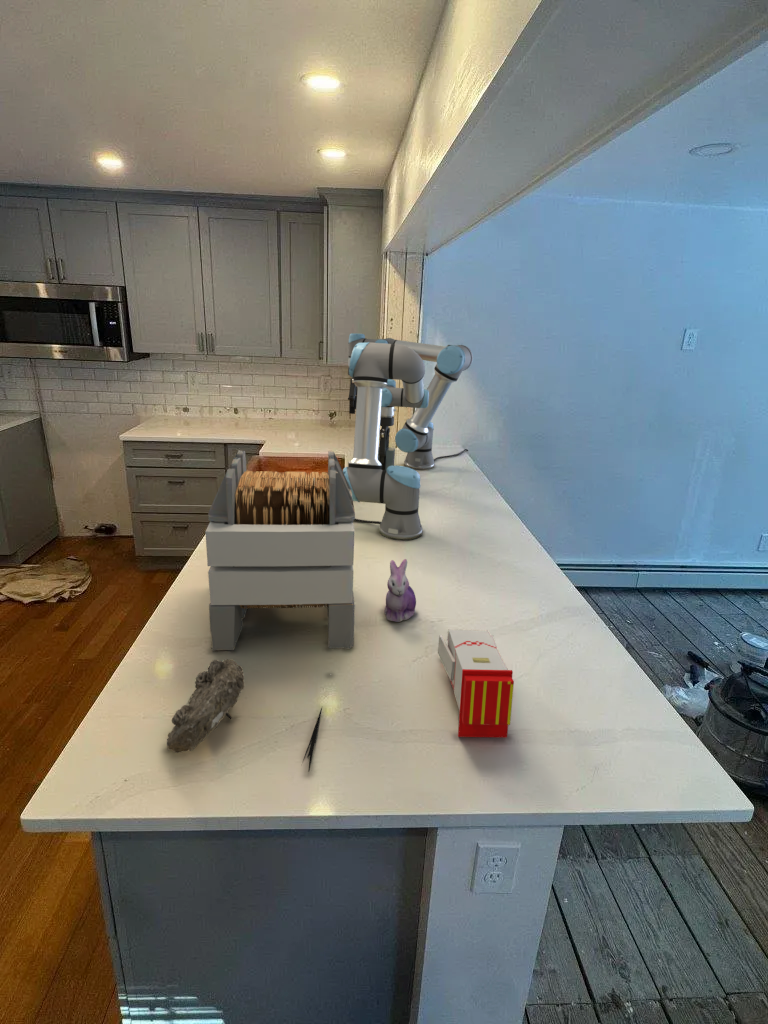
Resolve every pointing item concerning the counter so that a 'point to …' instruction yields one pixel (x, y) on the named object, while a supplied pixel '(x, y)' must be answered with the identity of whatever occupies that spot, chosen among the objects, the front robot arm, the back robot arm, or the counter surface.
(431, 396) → the back robot arm
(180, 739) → the fossil
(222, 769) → the counter surface
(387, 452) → the brick
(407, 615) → the figurine
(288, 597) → the record crate
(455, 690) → the toy
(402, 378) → the front robot arm
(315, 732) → the feather
